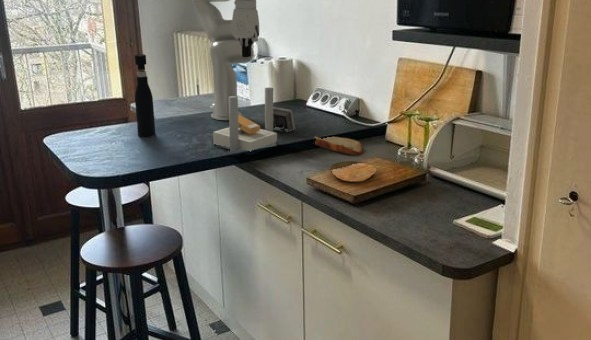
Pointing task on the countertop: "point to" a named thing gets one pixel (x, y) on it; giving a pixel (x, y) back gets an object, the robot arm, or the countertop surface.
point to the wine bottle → (143, 101)
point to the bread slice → (340, 145)
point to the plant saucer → (342, 164)
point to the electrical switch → (283, 118)
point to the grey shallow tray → (245, 138)
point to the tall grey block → (269, 109)
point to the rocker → (247, 125)
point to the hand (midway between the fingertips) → (246, 56)
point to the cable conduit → (233, 123)
